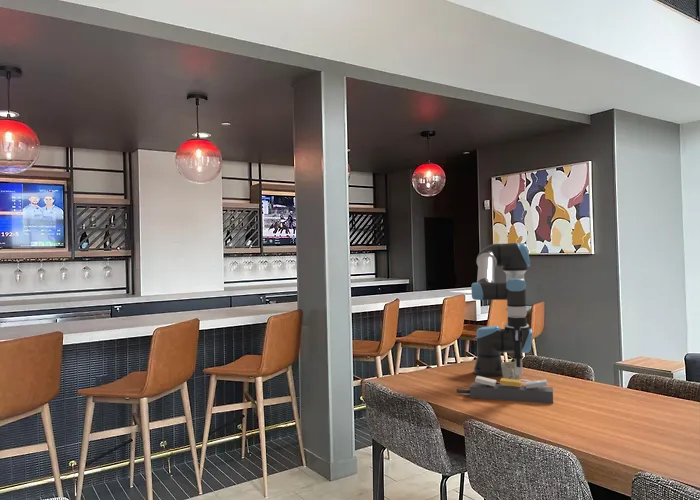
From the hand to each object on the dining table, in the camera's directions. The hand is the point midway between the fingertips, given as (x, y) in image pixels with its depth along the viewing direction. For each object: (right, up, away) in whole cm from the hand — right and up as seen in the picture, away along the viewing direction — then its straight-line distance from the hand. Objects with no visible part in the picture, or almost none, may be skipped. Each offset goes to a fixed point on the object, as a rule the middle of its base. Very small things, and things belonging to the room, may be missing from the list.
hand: (518, 374), depth 215 cm
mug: (+3, -10, +20) cm, 22 cm away
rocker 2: (-3, -4, +1) cm, 5 cm away
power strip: (-6, -10, +2) cm, 12 cm away
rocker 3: (+6, -3, -3) cm, 8 cm away
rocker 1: (-12, -4, +4) cm, 14 cm away
